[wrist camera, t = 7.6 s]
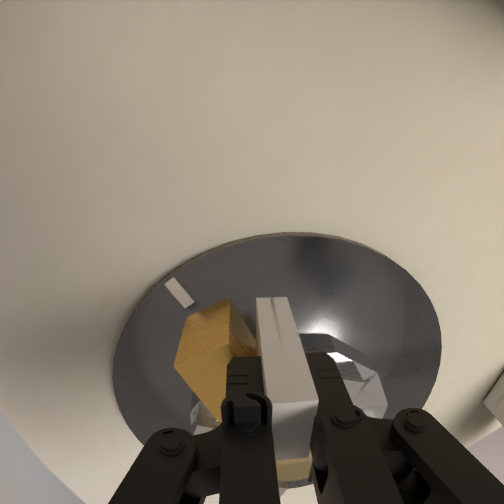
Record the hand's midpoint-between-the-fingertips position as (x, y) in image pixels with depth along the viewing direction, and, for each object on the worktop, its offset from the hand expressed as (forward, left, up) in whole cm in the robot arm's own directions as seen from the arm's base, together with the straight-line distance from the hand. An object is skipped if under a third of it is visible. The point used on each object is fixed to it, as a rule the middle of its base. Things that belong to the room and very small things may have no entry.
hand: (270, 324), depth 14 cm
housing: (+9, -2, -5) cm, 10 cm away
